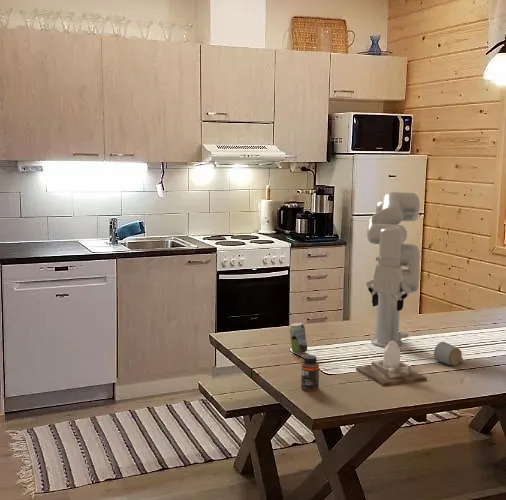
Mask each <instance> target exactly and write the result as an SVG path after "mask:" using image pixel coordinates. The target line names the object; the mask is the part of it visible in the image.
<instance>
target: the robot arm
mask: <svg viewBox="0 0 506 500" xmlns="http://www.w3.org/2000/svg"><path fill="white" fill-rule="evenodd" d="M420 208H421V203H420V198H419V196H418V195H417V194H416V193H415V192H406V191H405V192H403V191H400V192H399V191H394V192H388V193H386V194H385V195H384V196H383V197H382V200H381V201H379V202H377V204H376V206H375V213H374V214H373V215H372V216H370V218H369V221H368V224H367V231H366V233H367V234H366V237H367V240H368V242H369V243H370V244H374V245H379V248H378V250H379V253H378V256H376V257H375V261H376V262H378V263H377V264H376V265H375V269H374V274H373V279H372V280H369V281H367V282H366V283H365V284H366V287H367V290H368V292H369V293H370V296H371V304H372V307H376V312H375V331H374V333H375V335H374V336H375V337H372V338H371V339H370V341H371V342H370V343H372V344H373V345H375V346H378V347H382V348H385V347H386V346H387V345H388V343H389V342H390V341H395V342H396V343H397V345H398V347H400V346H402V345H403V341H402V339H407V338H409V333H407V332H404V333H402V332H399V331H400V311H402V310H403V308H404V301H405V299H406V298H408V296H409V295H410V294H412V293H413V294H414V293H416V292H418V290H419V286H420V265H421V264H420V263H421V262H420V258H421V255H420V248H419V247H418V246H417V245H415V244H413V243H405V241H406V240H407V237H408V231H407V229H406V227H405V226H404V225H402V224H401V223H402V222H415V221H416V220H418V218H419V215H420ZM403 267H405V269H404V268H403Z"/></svg>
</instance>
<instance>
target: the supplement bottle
mask: <svg viewBox="0 0 506 500" xmlns="http://www.w3.org/2000/svg"><path fill="white" fill-rule="evenodd" d="M303 360H304V361H303V362H302V363H301V368H300V369H301V370H300V371H301V372H300V373H301V375H300V377H301V379H300V380H301V381H300V382H301V383H300V384H301V385H300V388H301V390H303V391H304V392H305V391H306V392H315V391H317V390H319V387H320V386H319V385H320V384H319V382H320V364H319V362H317V356H316V355H314V354H313V355H312V354H307V355H305V356H304V359H303Z"/></svg>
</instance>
